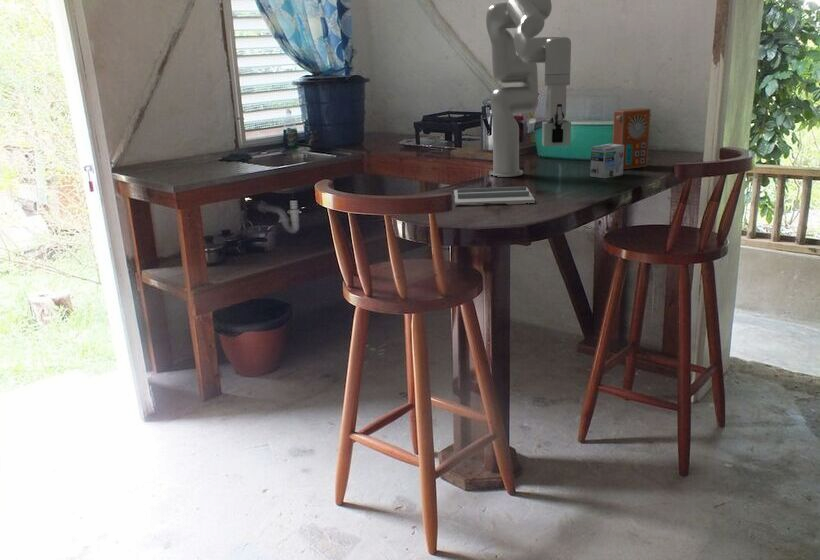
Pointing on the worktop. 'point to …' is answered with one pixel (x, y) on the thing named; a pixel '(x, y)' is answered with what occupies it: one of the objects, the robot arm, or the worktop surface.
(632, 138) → the control panel
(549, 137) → the block
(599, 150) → the light bulb box
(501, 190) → the rail plate
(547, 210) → the worktop surface
